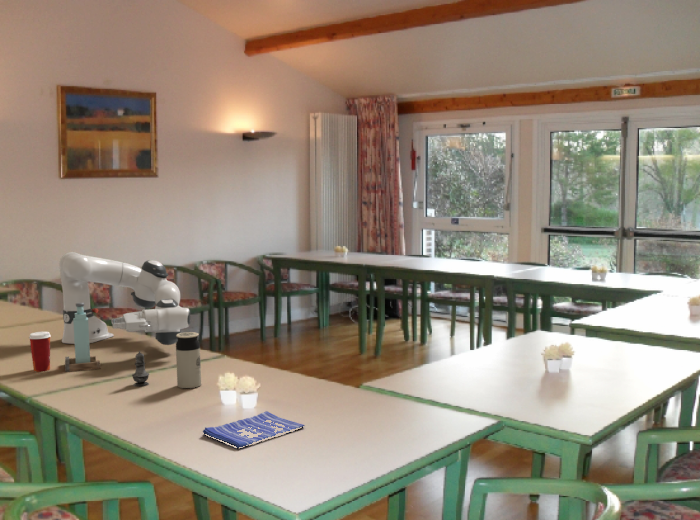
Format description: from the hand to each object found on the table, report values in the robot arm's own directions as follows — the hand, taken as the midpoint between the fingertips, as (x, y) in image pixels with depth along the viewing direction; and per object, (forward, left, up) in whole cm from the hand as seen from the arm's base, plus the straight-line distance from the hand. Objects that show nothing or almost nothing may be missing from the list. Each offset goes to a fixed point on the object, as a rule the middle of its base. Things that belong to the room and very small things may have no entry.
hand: (111, 323), depth 288 cm
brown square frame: (+9, -7, -16) cm, 19 cm away
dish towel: (+35, +97, -16) cm, 104 cm away
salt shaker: (+16, +32, -16) cm, 39 cm away
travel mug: (+9, +48, -16) cm, 51 cm away
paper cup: (+20, -16, -16) cm, 30 cm away
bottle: (+9, -7, -15) cm, 19 cm away
